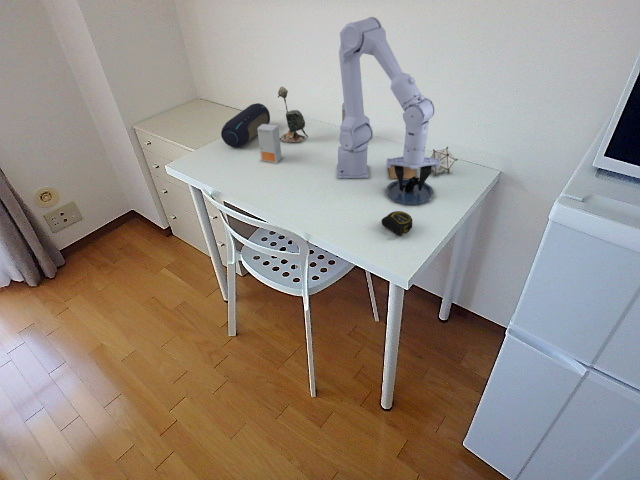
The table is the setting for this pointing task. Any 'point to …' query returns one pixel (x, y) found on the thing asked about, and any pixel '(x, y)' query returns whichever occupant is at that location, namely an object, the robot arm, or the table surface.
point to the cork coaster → (407, 173)
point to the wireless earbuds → (410, 184)
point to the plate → (409, 194)
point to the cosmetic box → (269, 143)
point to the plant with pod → (292, 122)
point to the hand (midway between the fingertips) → (409, 188)
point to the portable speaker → (245, 125)
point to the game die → (443, 160)
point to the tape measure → (398, 222)
